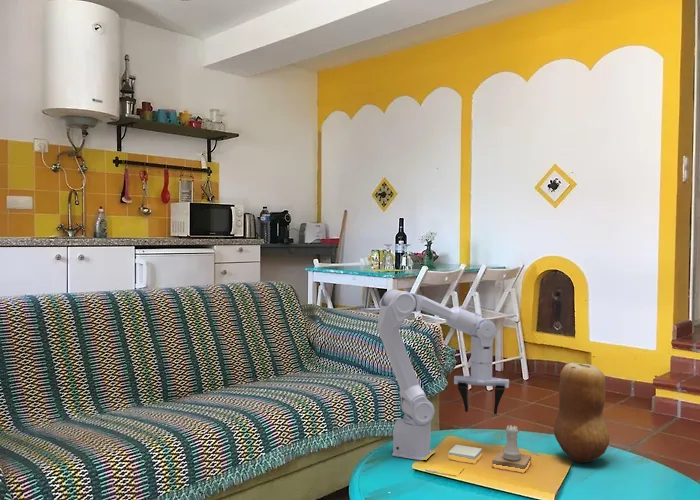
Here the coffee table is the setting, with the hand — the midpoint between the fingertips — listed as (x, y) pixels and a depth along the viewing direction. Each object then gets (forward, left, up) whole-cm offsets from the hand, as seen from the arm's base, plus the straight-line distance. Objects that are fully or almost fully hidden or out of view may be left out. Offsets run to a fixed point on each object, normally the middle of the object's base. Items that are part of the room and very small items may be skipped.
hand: (480, 412), depth 166 cm
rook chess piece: (+10, -9, -9) cm, 16 cm away
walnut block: (+10, -8, -10) cm, 17 cm away
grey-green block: (-2, -8, -10) cm, 13 cm away
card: (-4, -19, -10) cm, 22 cm away
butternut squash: (+25, +5, -11) cm, 28 cm away
